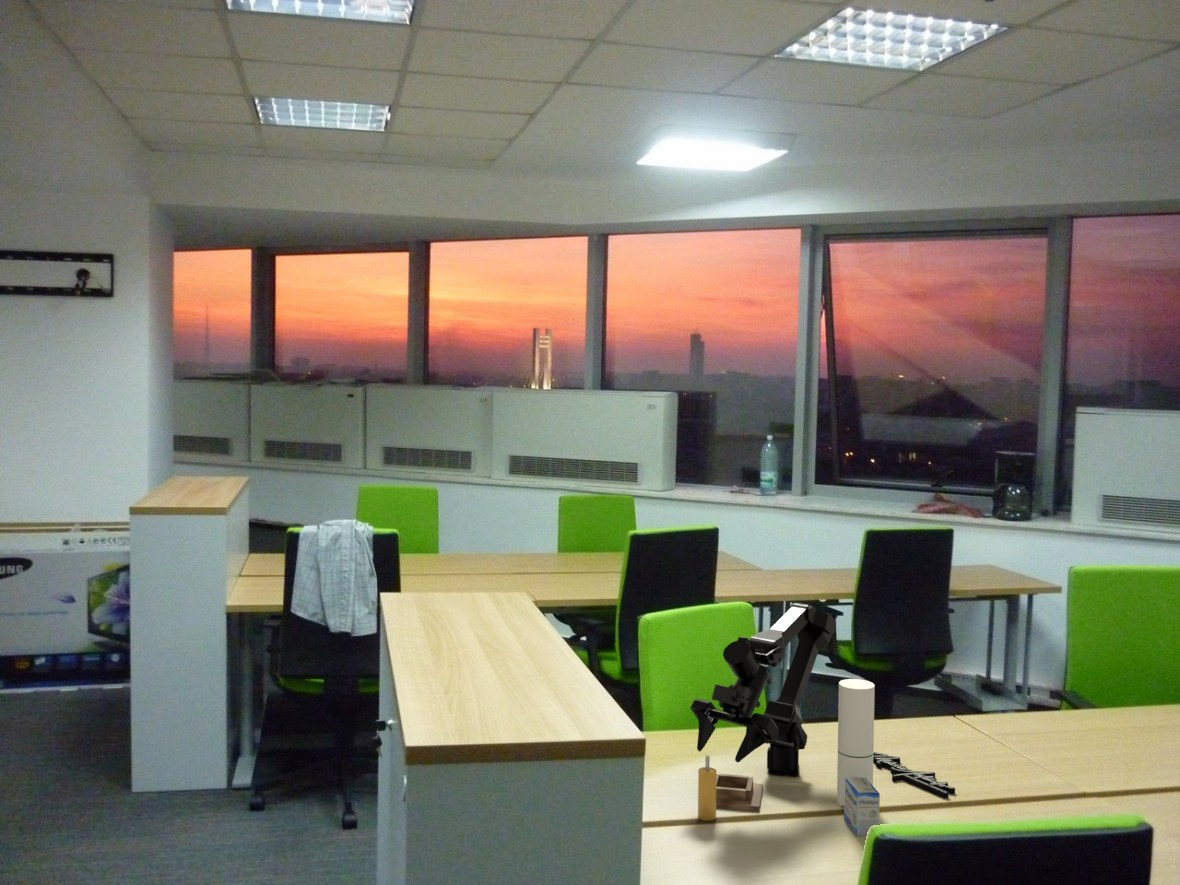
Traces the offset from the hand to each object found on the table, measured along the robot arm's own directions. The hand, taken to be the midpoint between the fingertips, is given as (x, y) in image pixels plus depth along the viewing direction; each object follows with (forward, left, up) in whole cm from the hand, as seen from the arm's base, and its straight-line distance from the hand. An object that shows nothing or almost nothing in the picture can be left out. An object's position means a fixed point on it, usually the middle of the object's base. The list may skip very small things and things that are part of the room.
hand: (717, 755), depth 210 cm
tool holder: (-2, -8, -11) cm, 14 cm away
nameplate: (-38, -29, -12) cm, 50 cm away
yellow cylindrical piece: (+2, +3, -11) cm, 12 cm away
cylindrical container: (-27, -11, -12) cm, 32 cm away
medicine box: (-28, +1, -12) cm, 31 cm away
